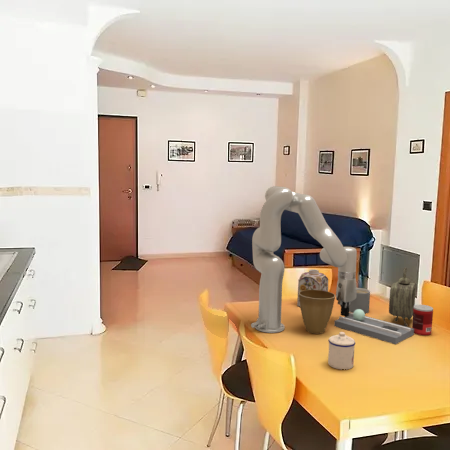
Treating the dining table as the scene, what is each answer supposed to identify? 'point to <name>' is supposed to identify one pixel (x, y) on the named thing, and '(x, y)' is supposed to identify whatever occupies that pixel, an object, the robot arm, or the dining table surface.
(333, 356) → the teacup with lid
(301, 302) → the plant pot
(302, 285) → the decorative jar
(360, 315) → the ball
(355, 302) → the coffee mug
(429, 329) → the canned food
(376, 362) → the dining table surface
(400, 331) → the board
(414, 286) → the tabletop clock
